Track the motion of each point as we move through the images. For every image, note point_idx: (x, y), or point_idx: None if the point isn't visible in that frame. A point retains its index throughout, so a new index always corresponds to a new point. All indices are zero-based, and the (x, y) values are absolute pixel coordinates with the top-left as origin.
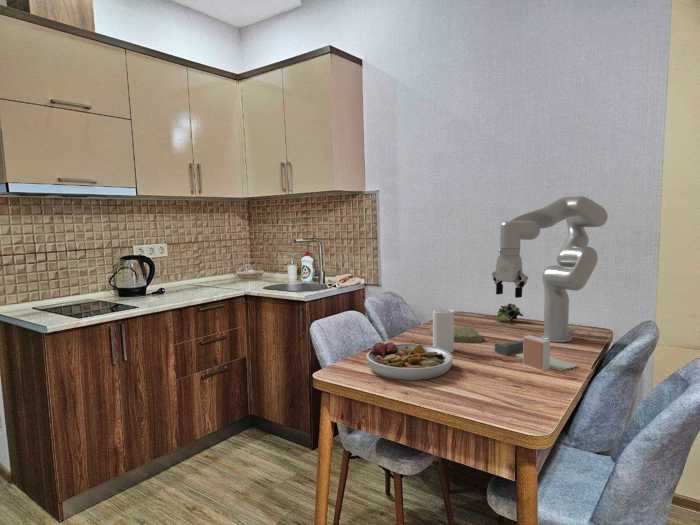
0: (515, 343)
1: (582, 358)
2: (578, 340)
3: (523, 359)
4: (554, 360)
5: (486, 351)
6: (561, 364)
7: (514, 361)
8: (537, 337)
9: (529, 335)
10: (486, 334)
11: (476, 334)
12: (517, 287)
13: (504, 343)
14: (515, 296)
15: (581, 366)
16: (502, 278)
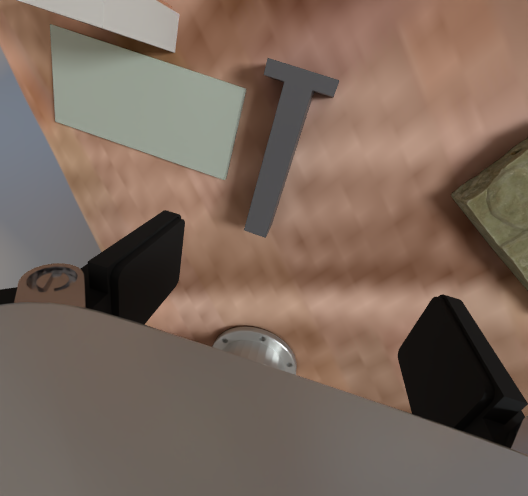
0: (268, 150)
1: (107, 219)
2: None
3: (169, 9)
4: (122, 122)
5: (373, 62)
6: (85, 93)
7: (213, 10)
8: (51, 8)
9: (98, 19)
10: (472, 305)
11: (496, 205)
12: (76, 268)
13: (303, 115)
14: (171, 214)
15: (62, 138)
16: (366, 456)
